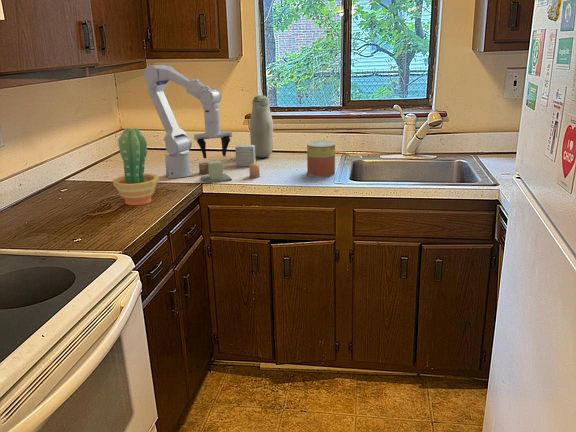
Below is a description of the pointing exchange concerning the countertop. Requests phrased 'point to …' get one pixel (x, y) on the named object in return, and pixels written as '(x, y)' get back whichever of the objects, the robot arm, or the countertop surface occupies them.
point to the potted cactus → (134, 169)
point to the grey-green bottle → (261, 127)
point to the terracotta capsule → (254, 170)
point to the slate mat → (209, 180)
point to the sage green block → (215, 170)
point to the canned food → (321, 158)
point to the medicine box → (245, 155)
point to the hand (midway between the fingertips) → (214, 156)
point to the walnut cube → (203, 168)
